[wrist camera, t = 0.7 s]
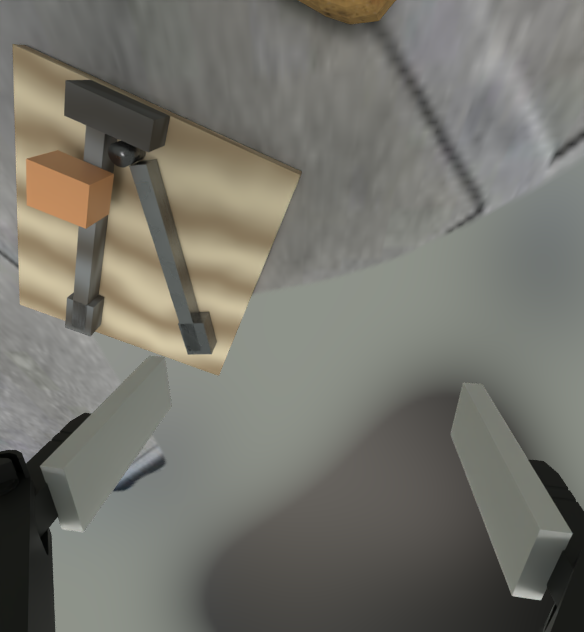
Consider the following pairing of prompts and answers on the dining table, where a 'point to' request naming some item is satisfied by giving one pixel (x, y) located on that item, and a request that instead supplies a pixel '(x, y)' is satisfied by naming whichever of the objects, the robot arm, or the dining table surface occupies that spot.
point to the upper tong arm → (167, 246)
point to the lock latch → (68, 188)
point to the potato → (351, 9)
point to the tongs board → (140, 213)
